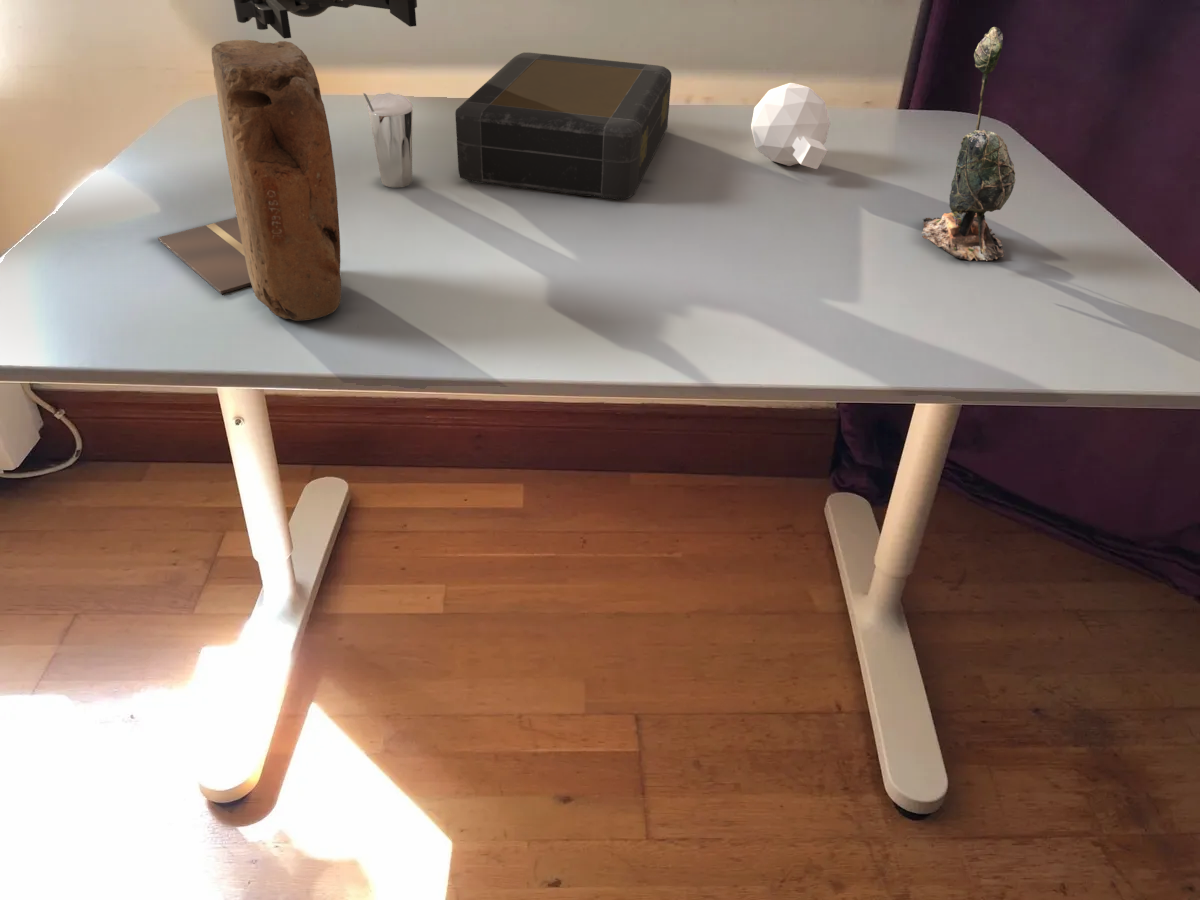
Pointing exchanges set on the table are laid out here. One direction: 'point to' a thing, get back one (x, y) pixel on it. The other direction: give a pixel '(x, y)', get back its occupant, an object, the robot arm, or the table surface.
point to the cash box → (564, 125)
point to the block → (281, 175)
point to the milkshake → (392, 137)
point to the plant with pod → (976, 179)
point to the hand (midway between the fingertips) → (350, 18)
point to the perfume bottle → (791, 126)
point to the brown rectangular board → (213, 254)
